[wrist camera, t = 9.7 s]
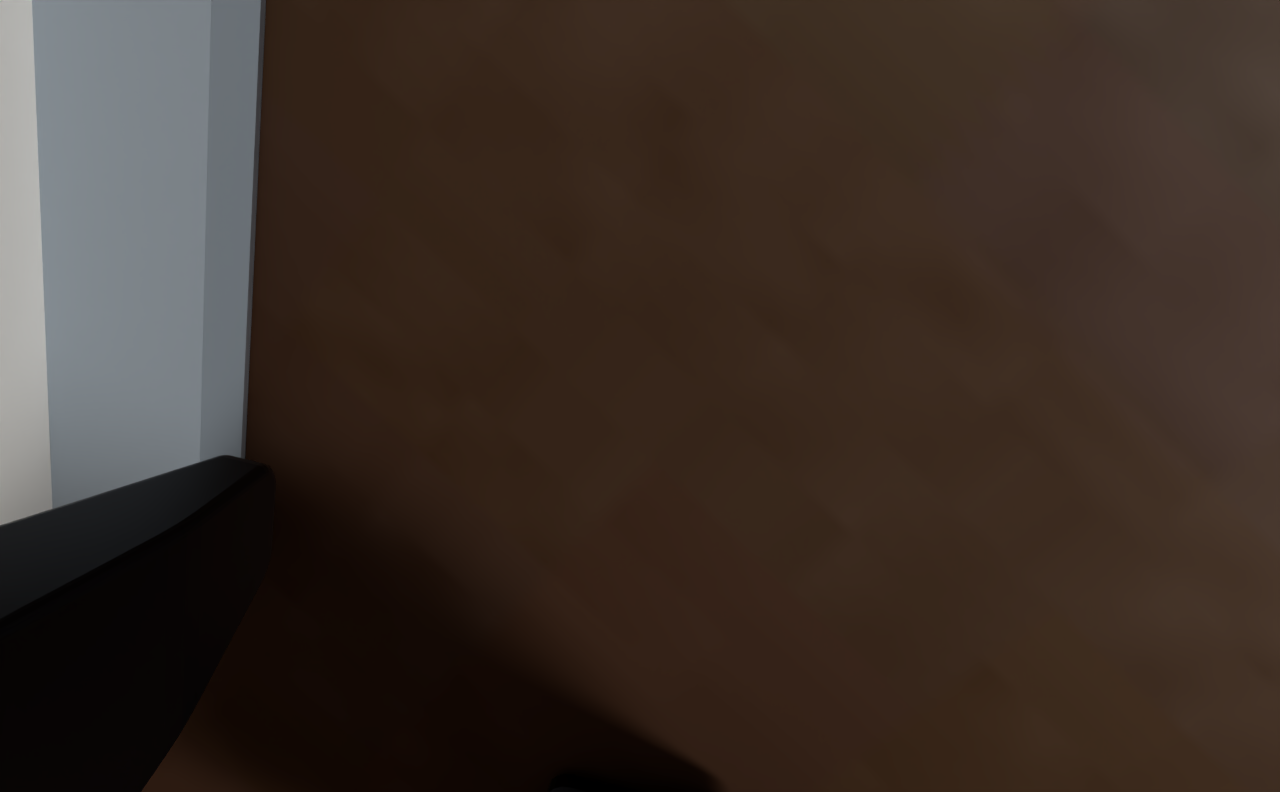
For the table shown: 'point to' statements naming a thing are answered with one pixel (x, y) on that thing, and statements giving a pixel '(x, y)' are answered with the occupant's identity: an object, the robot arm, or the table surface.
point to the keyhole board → (146, 231)
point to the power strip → (21, 279)
